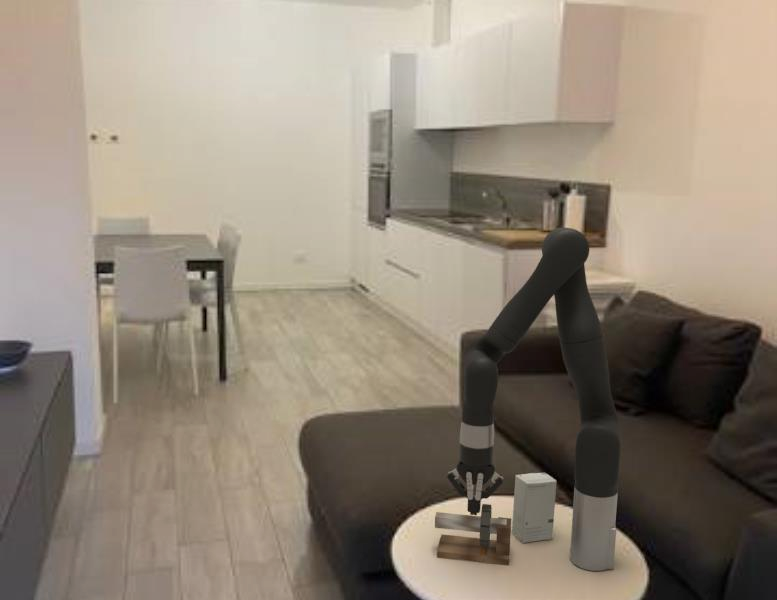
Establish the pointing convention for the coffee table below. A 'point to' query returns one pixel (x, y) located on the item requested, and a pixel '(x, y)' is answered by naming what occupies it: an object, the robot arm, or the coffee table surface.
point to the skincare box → (533, 507)
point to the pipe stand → (473, 539)
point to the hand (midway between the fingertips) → (473, 513)
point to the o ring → (485, 525)
